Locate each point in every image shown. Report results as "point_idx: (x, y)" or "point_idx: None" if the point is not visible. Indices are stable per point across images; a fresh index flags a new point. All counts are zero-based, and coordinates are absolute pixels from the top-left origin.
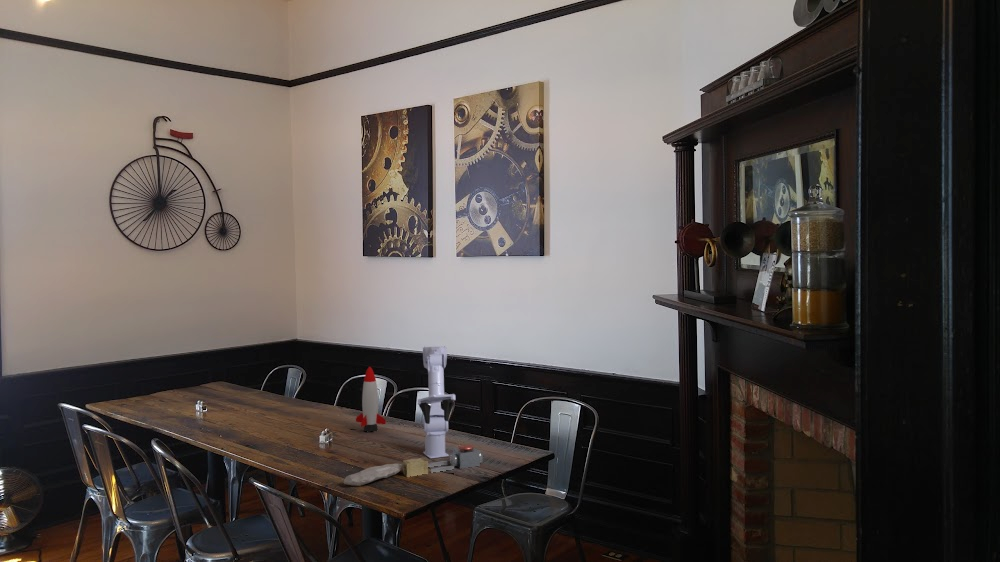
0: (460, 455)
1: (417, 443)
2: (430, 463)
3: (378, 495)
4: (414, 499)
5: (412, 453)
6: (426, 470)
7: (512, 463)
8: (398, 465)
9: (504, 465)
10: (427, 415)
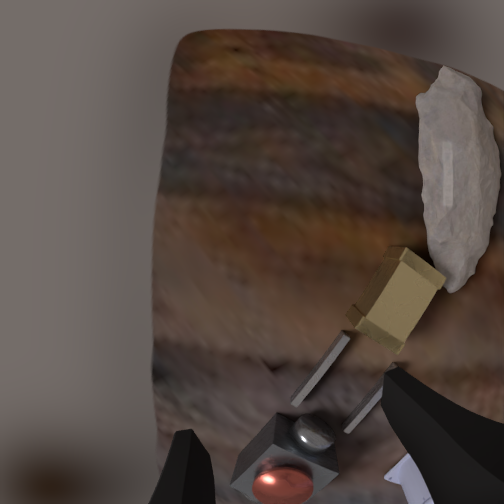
0: (272, 439)
1: None
2: None
3: (330, 62)
4: (212, 91)
5: None
6: (351, 313)
7: None
8: (451, 268)
9: None
10: (422, 437)
